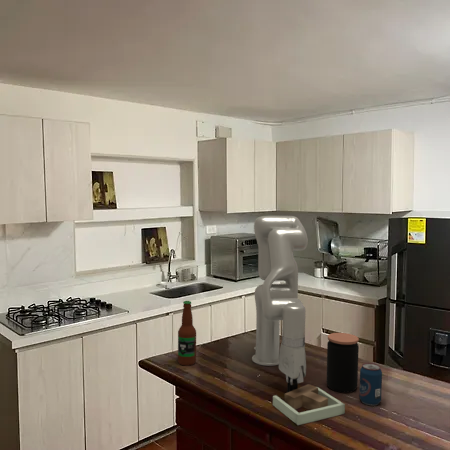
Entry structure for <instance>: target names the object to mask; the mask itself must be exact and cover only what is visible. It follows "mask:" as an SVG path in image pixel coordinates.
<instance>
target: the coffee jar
mask: <svg viewBox="0 0 450 450" xmlns="http://www.w3.org/2000/svg"><path fill="white" fill-rule="evenodd" d="M359 339H360V338H359V337H358V336H357V335H355V334H351V333H347V332H333V333H330V334H328V335H327V340H328V342H327V349H326V352H327V353H326V384H327V387H328V388H329V389H330V390H332V391H335V392H337V393H345V394H348V393H352V392H354V391H355V390H356V389H357V388H358V385H359V381H358V378H359Z"/></svg>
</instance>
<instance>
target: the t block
mask: <svg viewBox="0 0 450 450" xmlns="http://www.w3.org/2000/svg"><path fill="white" fill-rule="evenodd" d="M317 387H318V386H315V385H312V384H310V383H308V384H305V385H302V386H301V387H298V389H295V390H293V391H290V392H288V393H287V392H286V393H284V402H285V403H287V404H288V405H289V406H291V407H292V408H293V409H295V410H296V411H297V410H298V409H300V408H304V409H307V411H309V410H313V409H318V408H322V407H326V406H328V398H326V397H323V396H321V395H318V388H319V387H318V388H317Z"/></svg>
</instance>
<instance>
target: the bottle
mask: <svg viewBox="0 0 450 450" xmlns="http://www.w3.org/2000/svg"><path fill="white" fill-rule="evenodd" d="M182 303H183V305H182V307H183V309H182V314H181V315H182V316H181V324H180V327H179V328H178V330H177V363H178V364H179V365H180V366H187V367H188V366H192V365H194V364H196V361H197V330H196V328H195V326H194V324H193V322H194V321H193V320H194V319H193V313H192V301H190V300H185V301H183V302H182Z"/></svg>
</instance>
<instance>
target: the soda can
mask: <svg viewBox="0 0 450 450" xmlns="http://www.w3.org/2000/svg"><path fill="white" fill-rule="evenodd" d="M382 384H383V371H382V369H381V366H380V365H379V364H377V363H372V362H364V363H362V366H361V368H360V369H359V391H358V392H359V395H358V396H359V399H360V401H361V402H362V403H363V404H365V405H367V406H377V405H379V404H380V403H381V401H382V391H383V390H382V389H383V385H382Z"/></svg>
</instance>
